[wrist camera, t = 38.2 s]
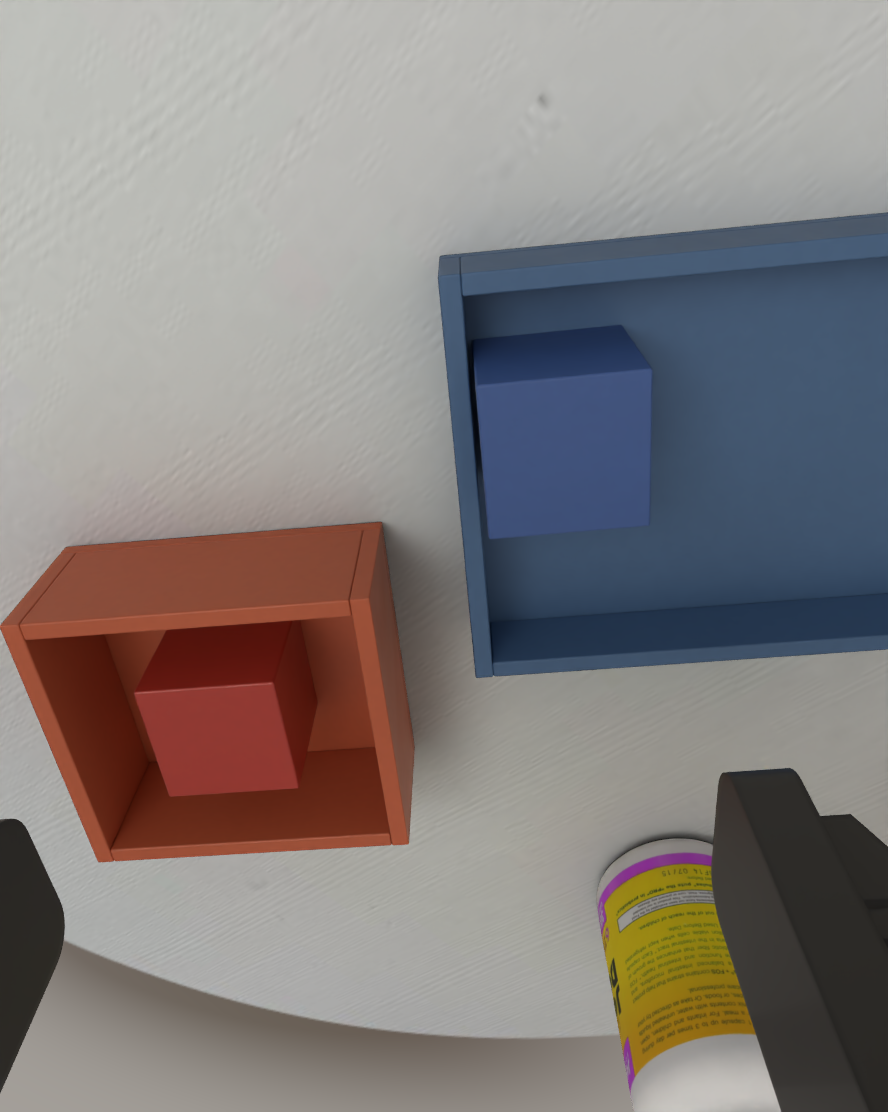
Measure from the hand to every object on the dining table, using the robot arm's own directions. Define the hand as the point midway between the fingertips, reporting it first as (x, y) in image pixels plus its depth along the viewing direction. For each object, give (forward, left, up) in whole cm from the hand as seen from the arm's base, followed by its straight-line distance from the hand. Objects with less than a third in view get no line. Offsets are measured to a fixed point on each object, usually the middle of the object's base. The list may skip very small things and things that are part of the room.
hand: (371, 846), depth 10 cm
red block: (-8, -10, -19) cm, 23 cm away
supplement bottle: (+8, -24, -19) cm, 32 cm away
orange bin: (-8, -10, -19) cm, 23 cm away
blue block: (+4, -1, -19) cm, 19 cm away
